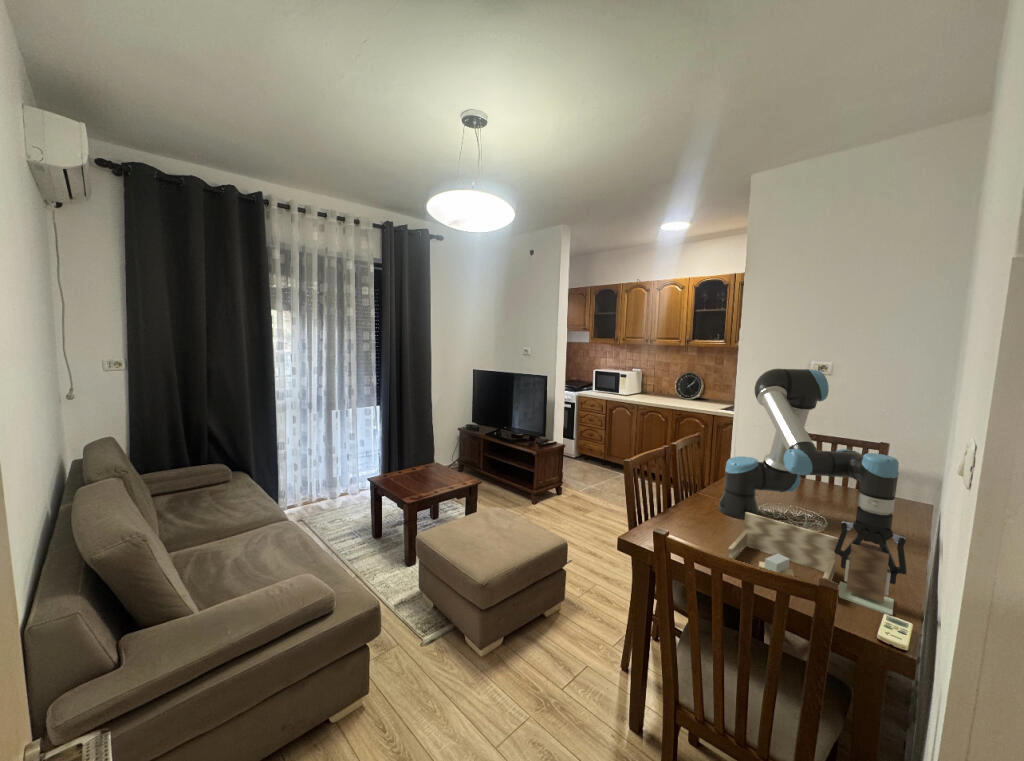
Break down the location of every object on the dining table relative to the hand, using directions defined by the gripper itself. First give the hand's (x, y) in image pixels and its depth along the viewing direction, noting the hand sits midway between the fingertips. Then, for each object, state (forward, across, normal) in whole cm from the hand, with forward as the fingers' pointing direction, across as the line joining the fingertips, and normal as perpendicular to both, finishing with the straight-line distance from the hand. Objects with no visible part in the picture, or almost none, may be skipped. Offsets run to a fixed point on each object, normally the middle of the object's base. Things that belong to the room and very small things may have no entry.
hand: (865, 585), depth 117 cm
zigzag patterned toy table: (+4, -21, 0) cm, 21 cm away
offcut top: (+1, -21, -5) cm, 22 cm away
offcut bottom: (+4, -21, -6) cm, 22 cm away
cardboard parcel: (+2, 0, 0) cm, 2 cm away
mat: (+4, 0, 0) cm, 4 cm away
